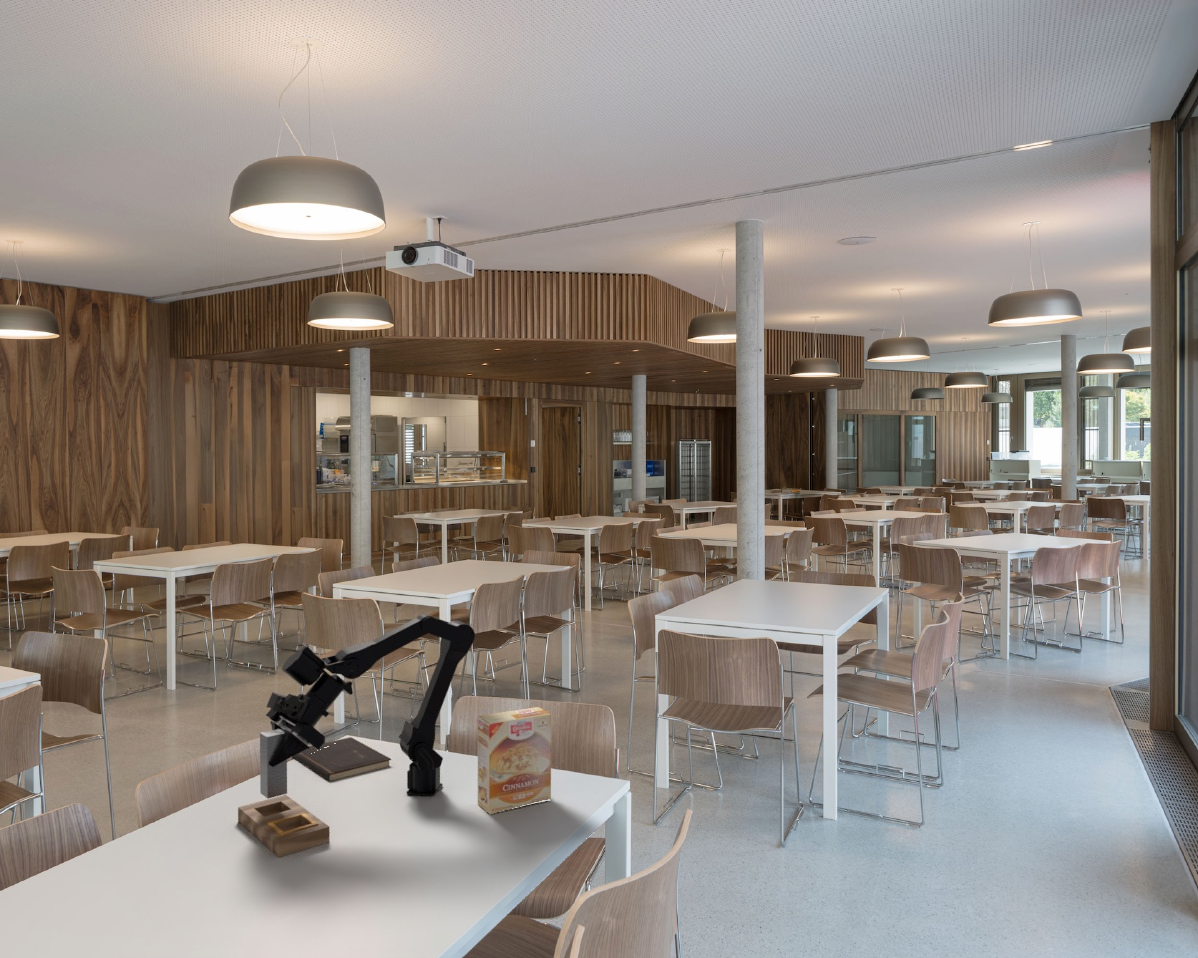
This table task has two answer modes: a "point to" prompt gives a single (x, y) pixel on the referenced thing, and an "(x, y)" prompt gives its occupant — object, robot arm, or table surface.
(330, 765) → the hardcover book
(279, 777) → the peg
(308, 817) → the wooden peg holder
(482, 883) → the table surface
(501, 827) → the table surface
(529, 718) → the coffeecake box
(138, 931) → the table surface
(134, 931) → the table surface
